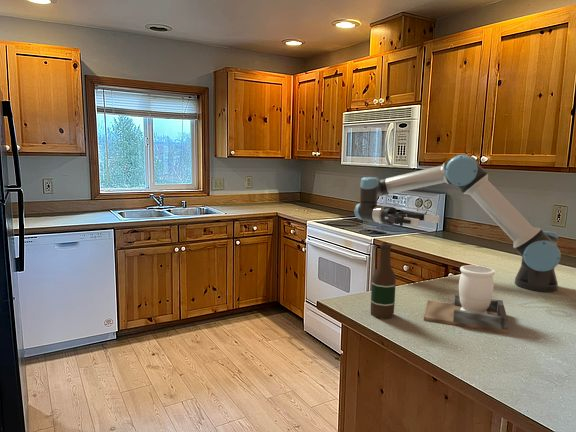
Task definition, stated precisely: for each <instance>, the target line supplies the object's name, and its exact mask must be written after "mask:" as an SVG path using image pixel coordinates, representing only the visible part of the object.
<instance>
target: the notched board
mask: <svg viewBox="0 0 576 432" xmlns="http://www.w3.org/2000/svg"><path fill="white" fill-rule="evenodd" d="M461 307H462V305H461V303H460V297H459V294H454V303H450V302H442V301H436V300H435V301H434V300H427V302H426V306H425V311H424V314H423V321H427V322H435V323H441V324H446V325H447V324H448V325H453V326H459V327H466V328H472V329H477V330H478V329H479V330H484V331H491V332H495V333H496V332H497V333H504V334H508V332H509V329H508V315H507V312H506V308H505V304H504V301H503V300H502V299H501V300H500V299H494V298H491V302H490V305H489V307H488V309H487V310H486V311H487V313H488V314H484V313H477V312H470V311H463V310H460V309H461Z"/></svg>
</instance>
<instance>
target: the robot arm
mask: <svg viewBox="0 0 576 432" xmlns="http://www.w3.org/2000/svg"><path fill="white" fill-rule="evenodd" d="M443 183H445V184H447V185H450V184H452V185H454V186H455V187H456V188H457V189H458V190H460V192H461V193H462V194H463V195H469V196H470V197H471V198H472V199H473V200H474V202H476V203H477V204H478V206H480V208H481V209H482V210H483V212H485V213H486V214H487V215H488V216H489V218H491V219H492V221H493V222H495V223H496V224H497V226H498V227H499V228H500V229H501V230H502V231H503V232H504V233H505V234H506V236H508V237H509V239H510V240H512V242H513V247H512V249H514V250H515V251H516V252H517V253H518V254H519V255H520V257H521V264H520V267H519V270H518V272H517V273H516V275H515V277H514V284H515V285H516V286H518V288H519V287H520V288H521V289H522V288H523V289H526V290H531V291H535V292H549V293H550V292H556V291H558V286H559V283H558V280H557V275H556V272H555V268H556V267H558V265H559V263H560V261H561V257H562V254H561V250H560V248H559V247H558V241H559V235H558V233H557V232H555V231H548V230H547V231H546V230H542V229H541V228H540V227H534V226H532V224H531V223H529V222H528V220H527V219H526V218H525V217H524V216H523V215H522V214H521V213H520V211H518V210H517V209H516V208H515V207H514V206H513V204H511V202H510V201H508V200H507V198H505V196H503V194H502V193H501V192H500V191H499V190H498V189H497V188H496V187H495V186H494V185H493V184H492V183H491V182H490V181H489V173H488V172H487V171H485V169H484V168H483V167H482V166H481V165H480V163H479V162H478V159H476V158H474V157H473V156H471V155H466V154H459V155H455V156H454V157H451V159H450V160H449V161H446V162H443V164H442V165H438V166H433V167H429V168H425V169H420V170H417V171H412V172H407V173H403V174H399V175H394V176H391V177H387V178H380V179H379V178H378V177H375V176H374V177H371V176H366V177H365V176H364V177H361V179H360V194H359V195H360V197H359V198H360V199H359V200H360V201H359V203H357V204H356V205H355V208H354V209H353V211H354V212H353V213H354V216H355V218H357V219H358V220H361V221H364V222H373V223H378V224H379V225H381V224H384V225H390V226H391V225H394V224H395V225H399V226H400V227H403V225H406V226H413V227H420V221H423V222H428V223H434V224H435V223H436V224H440V215H431V214H427V212H424V213H418V212H417V213H416V212H406V211H398V210H397V208H396V207H393V206H386V205H380V204H379V205H378V197H382V196H387V195H390V194H396V193H400V192H401V193H402V192H407V191H410V190H416V189H420V188H425V187H430V186H434V185H439V184H443Z"/></svg>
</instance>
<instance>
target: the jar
mask: <svg viewBox="0 0 576 432" xmlns="http://www.w3.org/2000/svg"><path fill="white" fill-rule="evenodd" d="M459 270H460V272H461V273H460V276H459V281H458V295H459V297H460V303H461V305H462V307H461V309H460V310H463V311H470V312H477V313H484V314H488V313H487V311H486V310H487V309H488V307H489V305H490V302H491V299H493V295H494V287H495V285H494V277H493V276H494V275H495V269H493V268H490V267H487V266H482V265H477V264H475V265H474V264H473V265H472V264H469V265H462V266H460V267H459Z"/></svg>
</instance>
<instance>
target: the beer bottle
mask: <svg viewBox="0 0 576 432" xmlns="http://www.w3.org/2000/svg"><path fill="white" fill-rule="evenodd" d="M379 247H380V248H379V259H378V265H377V268H376V270H375V271H374V273H373V274H372V278H371V292H370V293H371V294H370V295H371V296H370V315H371V316H373V317H374V318H376V319H383V320H385V319H387V320H388V319H392V318H393V316H394V313H395V302H396V299H395V298H396V283H397V280H396V279H397V278H396V275H395V272H394V271H393V268H392V264H391V262H392V261H391V248H392V244H391V242H390V243H389V242H381V243H380V244H379Z"/></svg>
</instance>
